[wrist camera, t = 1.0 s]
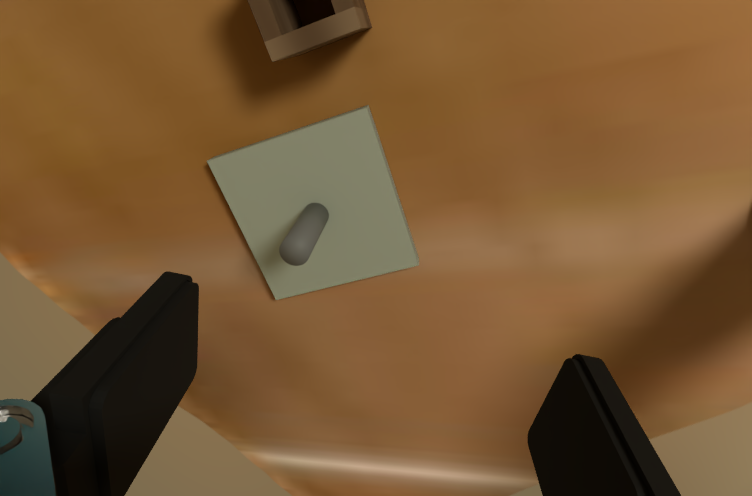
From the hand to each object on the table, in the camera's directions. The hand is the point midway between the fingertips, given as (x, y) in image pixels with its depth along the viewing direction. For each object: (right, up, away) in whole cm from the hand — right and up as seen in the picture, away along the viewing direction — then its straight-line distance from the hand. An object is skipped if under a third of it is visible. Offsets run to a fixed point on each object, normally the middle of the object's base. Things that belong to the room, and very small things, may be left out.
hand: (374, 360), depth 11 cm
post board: (-5, +6, +28) cm, 29 cm away
